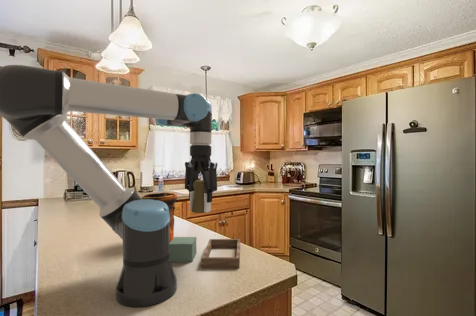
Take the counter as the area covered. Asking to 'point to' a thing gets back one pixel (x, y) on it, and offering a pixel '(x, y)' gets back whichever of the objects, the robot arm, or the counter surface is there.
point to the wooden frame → (221, 261)
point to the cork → (198, 196)
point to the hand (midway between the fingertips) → (200, 210)
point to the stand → (182, 249)
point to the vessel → (169, 200)
